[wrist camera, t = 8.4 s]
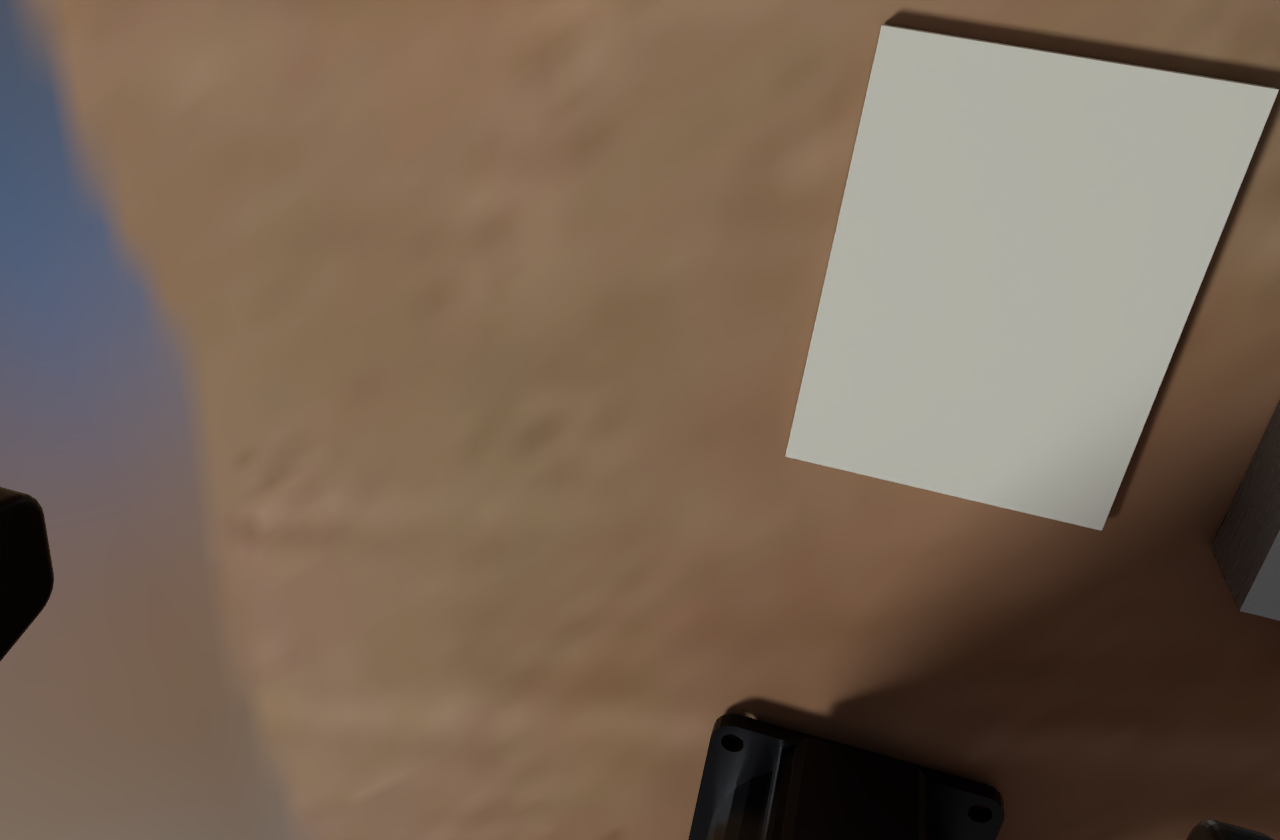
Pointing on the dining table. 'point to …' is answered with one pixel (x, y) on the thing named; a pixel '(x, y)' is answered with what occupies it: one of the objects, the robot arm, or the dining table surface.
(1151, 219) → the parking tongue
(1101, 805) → the dining table surface
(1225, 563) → the rack flange
